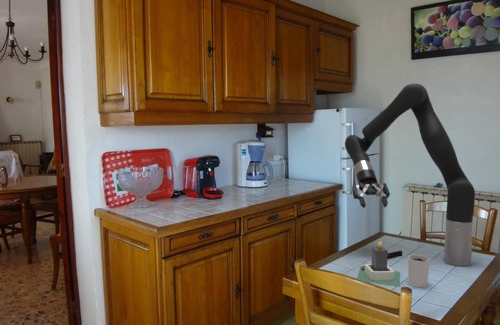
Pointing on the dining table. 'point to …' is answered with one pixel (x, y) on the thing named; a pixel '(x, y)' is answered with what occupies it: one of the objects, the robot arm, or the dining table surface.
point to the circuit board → (392, 283)
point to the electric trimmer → (394, 254)
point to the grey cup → (418, 270)
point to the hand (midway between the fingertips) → (375, 206)
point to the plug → (379, 258)
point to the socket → (379, 274)
